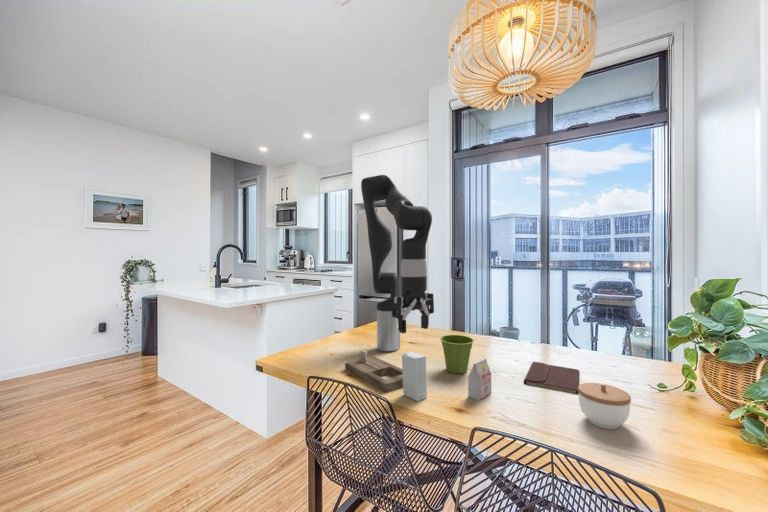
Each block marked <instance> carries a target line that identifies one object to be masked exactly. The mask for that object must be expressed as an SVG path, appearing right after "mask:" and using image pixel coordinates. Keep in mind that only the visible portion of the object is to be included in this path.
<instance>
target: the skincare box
mask: <svg viewBox="0 0 768 512" xmlns="http://www.w3.org/2000/svg"><path fill="white" fill-rule="evenodd" d="M426 358H427V357H426V355H422V354H420V353H416V352H413V351H410V352H406V353H404V354H403V353H402V354H401V361H402V362H401V364H402V365H401V369H402V370H403V387H402V393H403V396H405V397H408V398H409V399H412V400H414V401H416V402H419V401H423V400H425V399H427V397H428V395H427V365H426V364H427V361H426Z"/></svg>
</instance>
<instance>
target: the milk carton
mask: <svg viewBox="0 0 768 512" xmlns="http://www.w3.org/2000/svg"><path fill="white" fill-rule="evenodd" d="M467 376H468V377H467V379H468V380H467V382H468V383H467V384H468V385H467V391H468V392H467V394H468V395H467V397H468V398H471V399H473V400H474V399H475V400H477V401H481V400H483V399H485V398H486V397H488V396H489V395H490V394H492V372H491V369H490V367H489V363H488V361H487V358H482V359H481V360H479V361H476V362H474V363H473V365H472V368H471V370H470V371H469V374H468V375H467Z"/></svg>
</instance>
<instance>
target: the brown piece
mask: <svg viewBox="0 0 768 512" xmlns="http://www.w3.org/2000/svg"><path fill="white" fill-rule="evenodd" d="M344 365H345V366H344V368H345V369H344V370H345V371H347V372H349V373H350V374H353V375H354V376H356V377H358V378H359V379H361V380H363V381H364V382H365V383H368V384H370V385H371V386H374V387H376V388H377V389H379V390H380V391H383V392H384V393H390V392H392V391H395V390H397V389H401V388H403V370H402V367H401V368H400V367H398V366H396V365H394V364H391V363H389V362H386V361H385V360H382V359H381V358H377V357H375V356H374V355H371V356H368V350H360V358H359V359H354V360H350V361H346V362H345V363H344ZM387 375H390V376H392V377H389V378H386V379H385V378H383V377H384V376H387Z"/></svg>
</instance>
